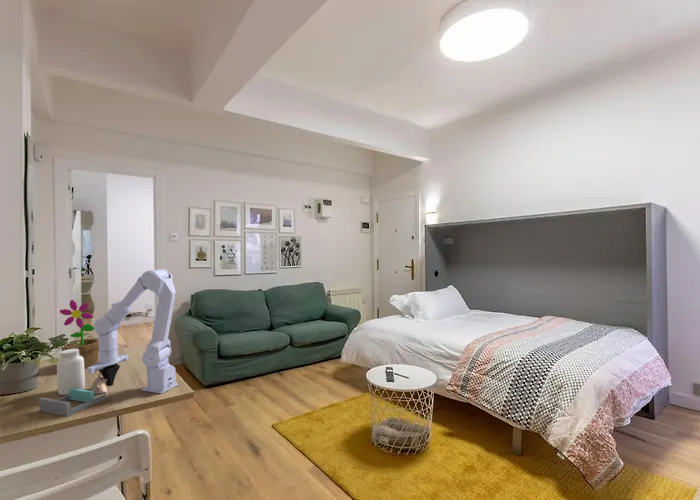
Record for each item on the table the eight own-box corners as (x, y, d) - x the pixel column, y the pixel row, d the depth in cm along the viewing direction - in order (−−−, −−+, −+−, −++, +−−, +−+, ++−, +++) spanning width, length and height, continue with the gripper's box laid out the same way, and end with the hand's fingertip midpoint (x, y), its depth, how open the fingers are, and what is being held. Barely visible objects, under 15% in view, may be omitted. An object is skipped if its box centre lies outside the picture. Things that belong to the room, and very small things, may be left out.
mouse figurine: (83, 392, 131) (82, 373, 130) (109, 388, 134) (108, 370, 134) (79, 398, 126) (78, 379, 126) (106, 393, 129) (105, 375, 129)
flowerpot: (55, 373, 149) (51, 301, 148) (73, 361, 163) (70, 296, 162) (94, 370, 152) (91, 300, 151) (108, 358, 166) (106, 294, 165)
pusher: (94, 401, 122) (93, 391, 122) (91, 403, 121) (90, 392, 121) (72, 397, 125) (72, 387, 125) (69, 399, 125) (69, 389, 124)
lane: (106, 398, 125) (105, 387, 125) (67, 416, 113) (66, 403, 113) (80, 393, 129) (79, 382, 129) (39, 410, 117) (39, 398, 117)
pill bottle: (55, 397, 126) (53, 355, 126) (61, 389, 134) (59, 349, 133) (83, 392, 130) (81, 351, 130) (87, 384, 137) (85, 346, 137)
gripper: (118, 342, 141) (119, 376, 141) (80, 354, 127) (82, 392, 128) (131, 344, 139) (133, 378, 139) (95, 356, 125) (96, 394, 125)
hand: (109, 385), depth 133 cm, fingers closed, pressing on mouse figurine
